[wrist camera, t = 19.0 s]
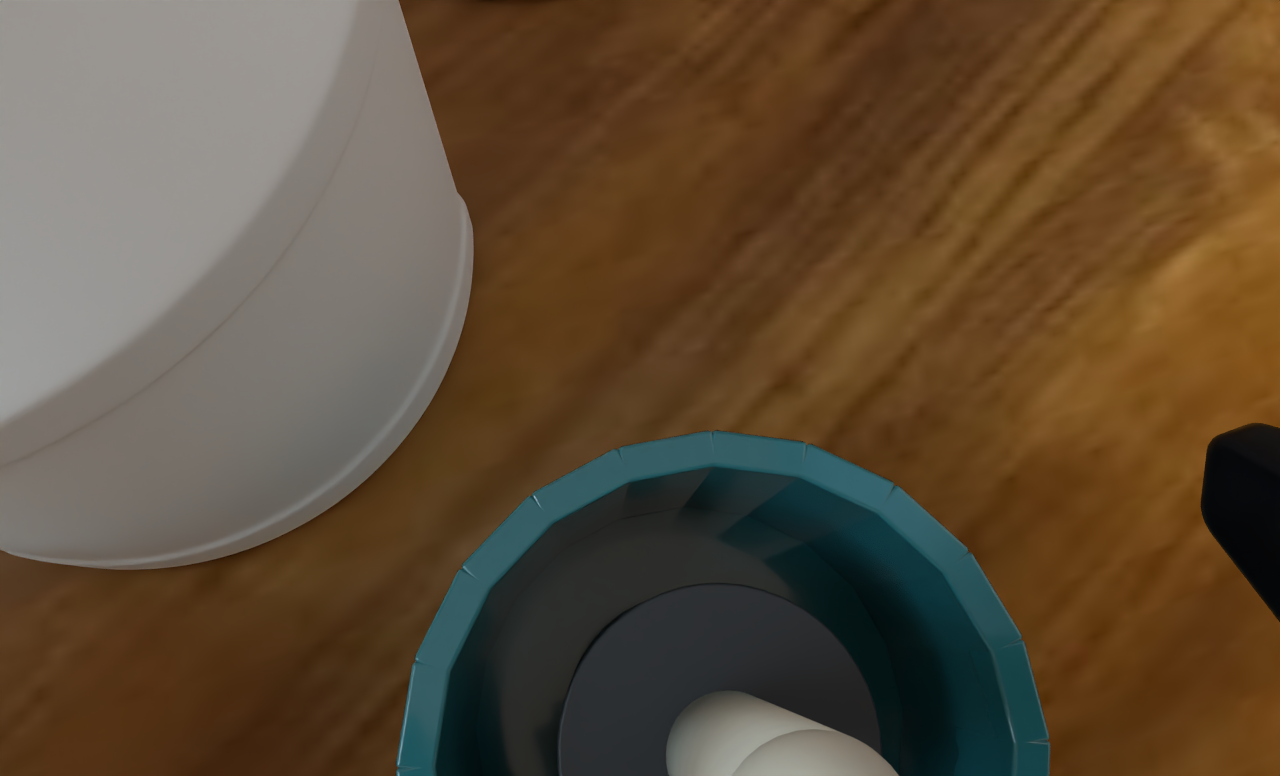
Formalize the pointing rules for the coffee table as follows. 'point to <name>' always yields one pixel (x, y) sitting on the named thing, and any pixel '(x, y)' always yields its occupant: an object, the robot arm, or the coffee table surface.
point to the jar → (213, 269)
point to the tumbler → (723, 553)
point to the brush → (718, 693)
